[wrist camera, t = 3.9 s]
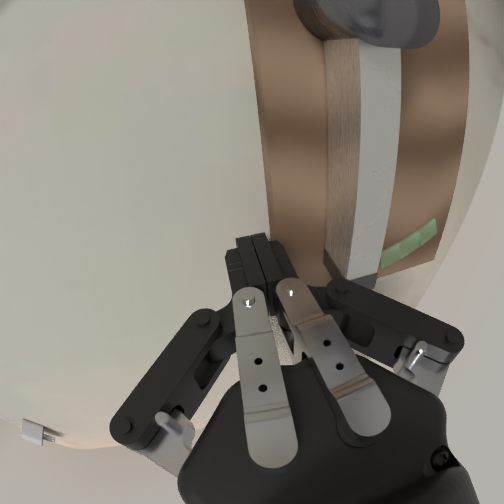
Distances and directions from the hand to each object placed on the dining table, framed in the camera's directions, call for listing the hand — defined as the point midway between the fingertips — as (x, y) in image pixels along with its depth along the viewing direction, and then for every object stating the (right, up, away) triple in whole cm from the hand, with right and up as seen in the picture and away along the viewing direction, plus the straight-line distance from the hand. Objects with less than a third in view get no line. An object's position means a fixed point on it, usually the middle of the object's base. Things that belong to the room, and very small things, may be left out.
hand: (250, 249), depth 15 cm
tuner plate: (+7, +7, 0) cm, 10 cm away
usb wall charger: (-40, -33, +19) cm, 55 cm away
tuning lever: (+5, +6, -2) cm, 8 cm away
